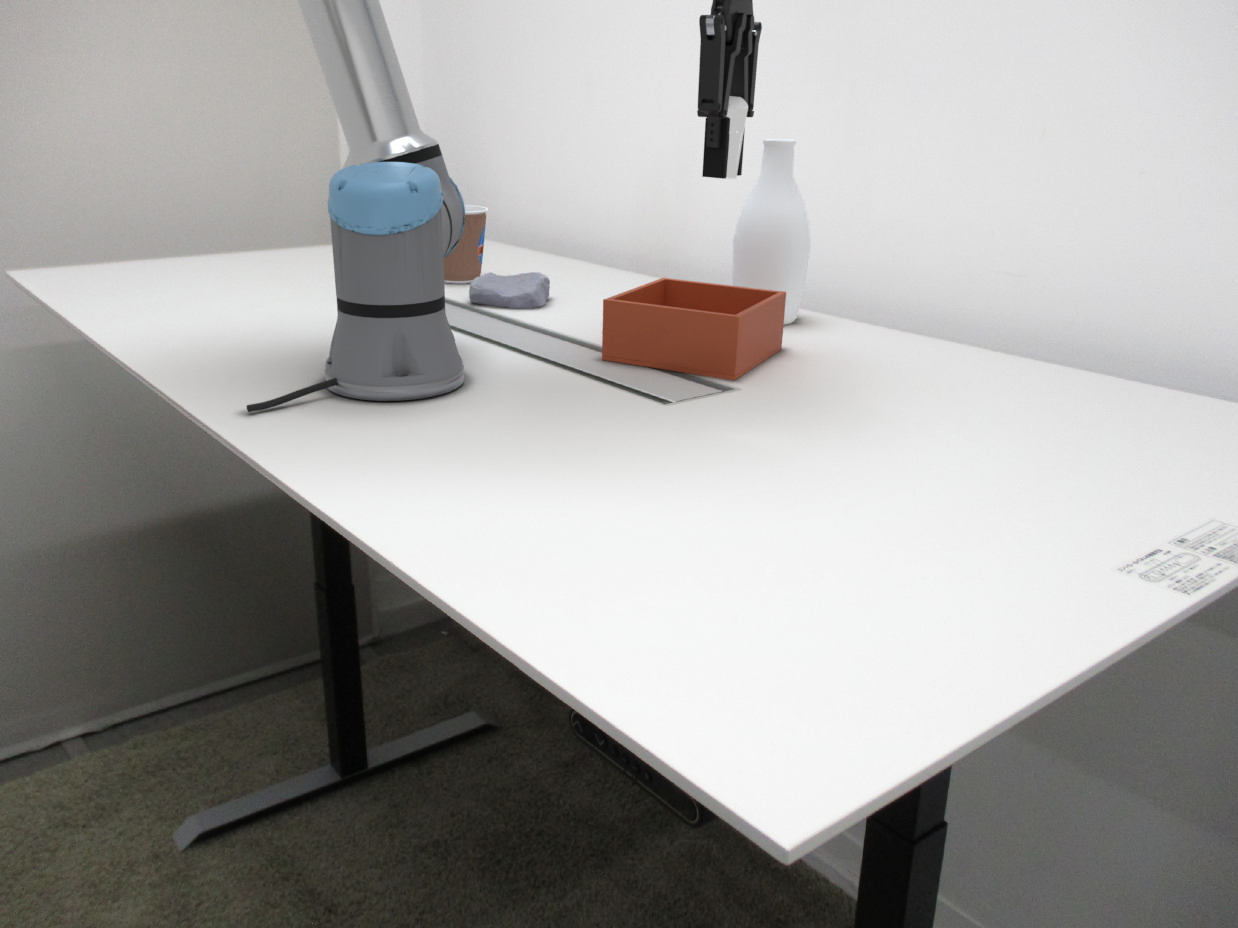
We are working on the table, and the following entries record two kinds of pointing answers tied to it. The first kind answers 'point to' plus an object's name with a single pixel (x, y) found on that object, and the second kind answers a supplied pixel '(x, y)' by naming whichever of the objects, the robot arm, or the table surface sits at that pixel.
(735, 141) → the milkshake
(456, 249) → the coffee cup
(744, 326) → the bin
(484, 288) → the stone block
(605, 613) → the table surface
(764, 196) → the bottle
